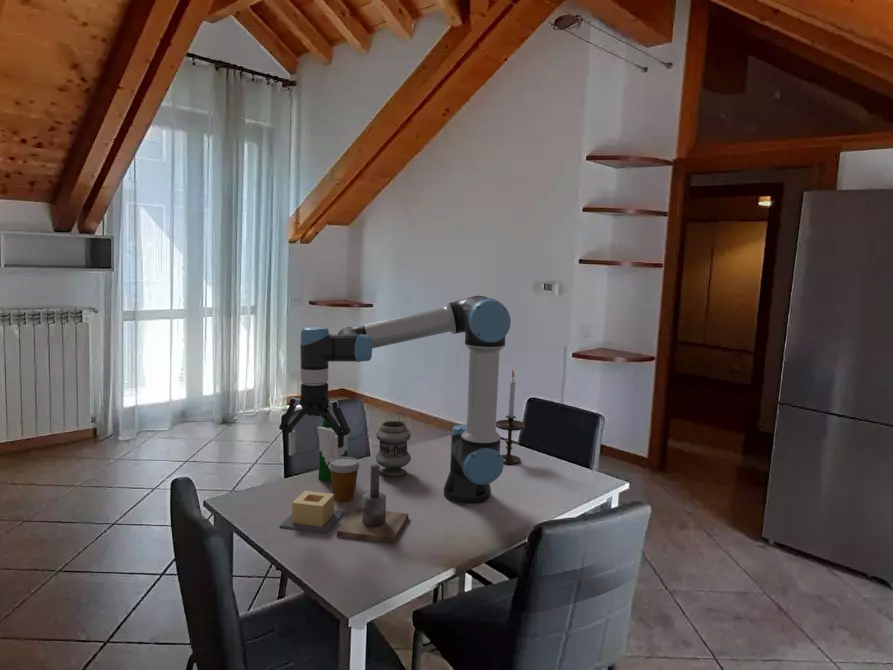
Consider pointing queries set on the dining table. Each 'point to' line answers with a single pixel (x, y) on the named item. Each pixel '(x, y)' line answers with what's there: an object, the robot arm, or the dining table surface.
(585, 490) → the dining table surface
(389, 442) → the apothecary jar
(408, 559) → the dining table surface
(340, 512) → the mat
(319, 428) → the milk carton
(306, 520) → the collar
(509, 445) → the candlestick
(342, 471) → the disposable coffee cup
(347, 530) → the stand
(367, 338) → the robot arm
